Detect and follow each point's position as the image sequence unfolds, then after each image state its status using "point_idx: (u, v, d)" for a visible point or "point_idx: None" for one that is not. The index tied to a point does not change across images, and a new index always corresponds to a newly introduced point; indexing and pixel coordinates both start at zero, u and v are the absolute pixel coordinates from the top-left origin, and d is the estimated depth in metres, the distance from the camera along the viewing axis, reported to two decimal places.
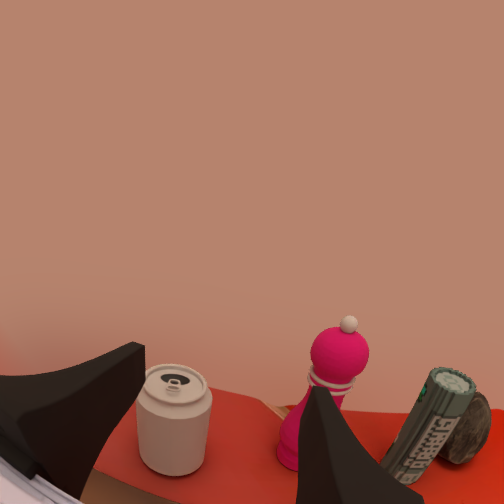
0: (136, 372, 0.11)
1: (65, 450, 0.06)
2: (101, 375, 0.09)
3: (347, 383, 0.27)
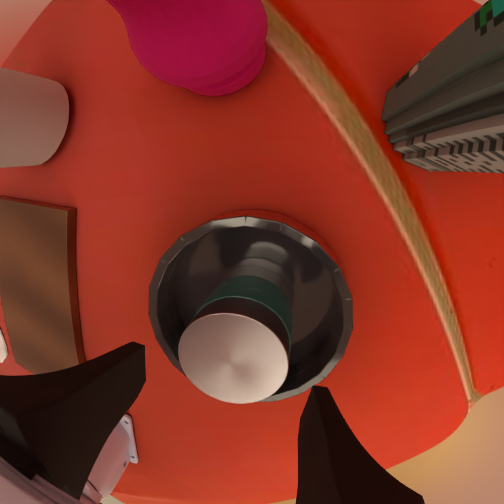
0: (136, 372, 0.11)
1: (65, 450, 0.06)
2: (101, 375, 0.09)
3: None
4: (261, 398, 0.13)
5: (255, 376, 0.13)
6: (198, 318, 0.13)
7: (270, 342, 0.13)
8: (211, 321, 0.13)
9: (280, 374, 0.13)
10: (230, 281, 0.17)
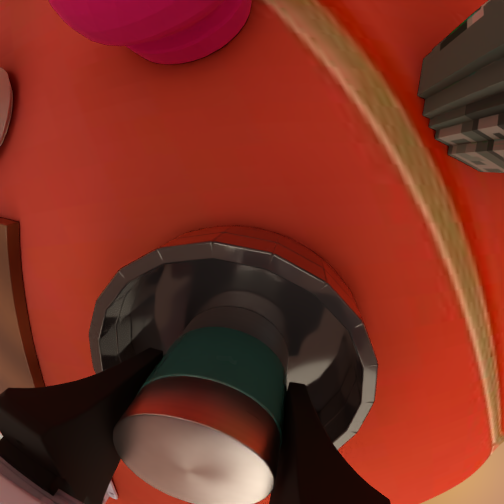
0: None
1: (87, 462, 0.06)
2: (123, 384, 0.08)
3: None
4: None
5: (226, 487, 0.07)
6: (131, 413, 0.07)
7: (245, 458, 0.07)
8: (149, 422, 0.07)
9: (263, 489, 0.07)
10: (193, 338, 0.11)
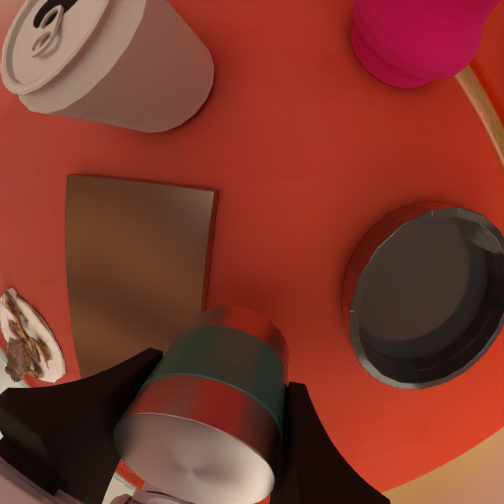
0: None
1: (87, 462, 0.06)
2: (123, 384, 0.08)
3: None
4: None
5: (226, 487, 0.07)
6: (131, 413, 0.07)
7: (246, 457, 0.07)
8: (149, 421, 0.07)
9: (264, 488, 0.07)
10: (193, 337, 0.11)
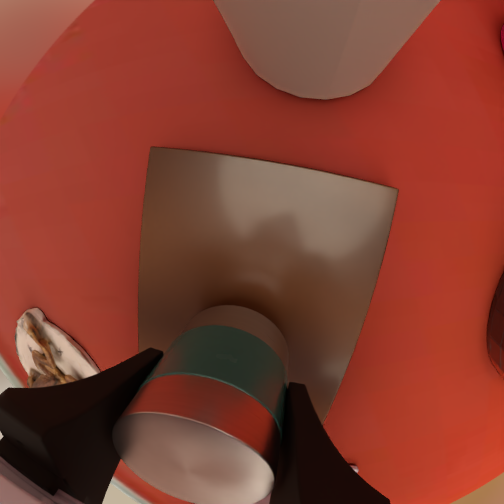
0: None
1: (87, 463, 0.06)
2: (123, 384, 0.08)
3: None
4: None
5: (225, 487, 0.07)
6: (130, 412, 0.07)
7: (245, 456, 0.07)
8: (149, 420, 0.07)
9: (264, 488, 0.07)
10: (193, 336, 0.11)
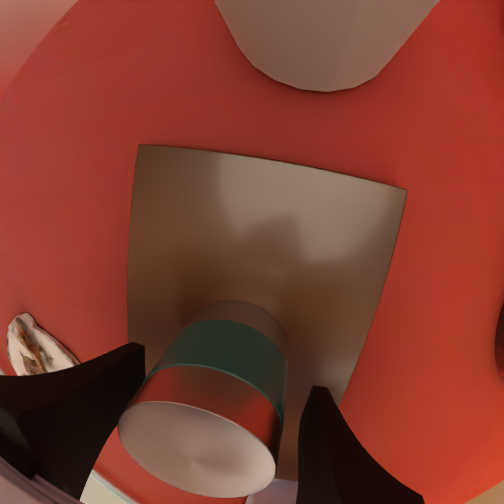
0: (136, 372, 0.11)
1: (65, 450, 0.06)
2: (101, 375, 0.09)
3: None
4: (239, 495, 0.08)
5: (228, 476, 0.07)
6: (137, 402, 0.07)
7: (248, 444, 0.07)
8: (155, 409, 0.07)
9: (265, 477, 0.07)
10: (196, 330, 0.11)
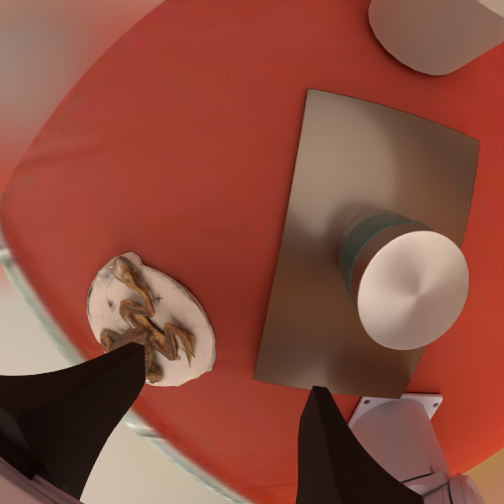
0: (136, 372, 0.11)
1: (65, 450, 0.06)
2: (101, 375, 0.09)
3: None
4: (435, 338, 0.11)
5: (437, 309, 0.11)
6: (391, 239, 0.10)
7: (458, 264, 0.10)
8: (407, 240, 0.10)
9: (460, 303, 0.10)
10: (379, 216, 0.14)
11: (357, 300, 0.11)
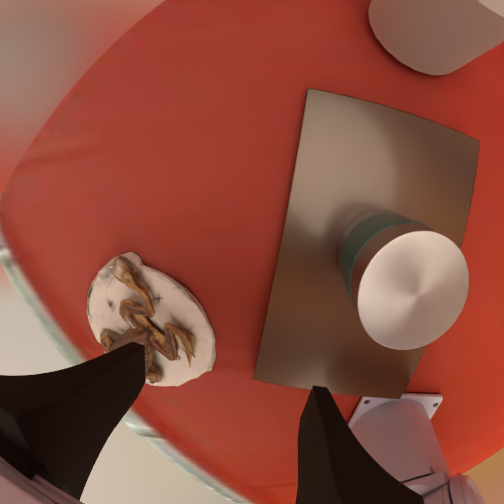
0: (136, 372, 0.11)
1: (65, 450, 0.06)
2: (101, 375, 0.09)
3: None
4: (435, 338, 0.11)
5: (437, 309, 0.11)
6: (391, 239, 0.10)
7: (458, 264, 0.10)
8: (407, 240, 0.10)
9: (460, 303, 0.10)
10: (379, 216, 0.14)
11: (357, 300, 0.11)
